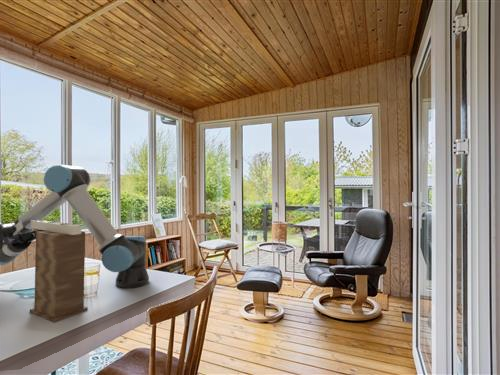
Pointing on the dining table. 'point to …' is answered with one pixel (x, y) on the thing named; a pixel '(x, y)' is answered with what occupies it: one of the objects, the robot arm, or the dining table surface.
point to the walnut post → (59, 275)
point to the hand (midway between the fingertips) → (41, 222)
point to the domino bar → (56, 227)
